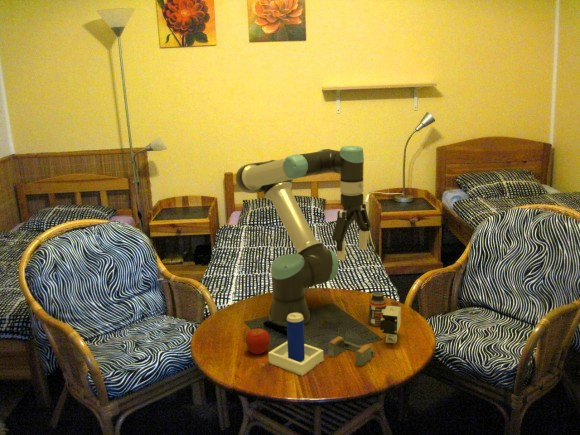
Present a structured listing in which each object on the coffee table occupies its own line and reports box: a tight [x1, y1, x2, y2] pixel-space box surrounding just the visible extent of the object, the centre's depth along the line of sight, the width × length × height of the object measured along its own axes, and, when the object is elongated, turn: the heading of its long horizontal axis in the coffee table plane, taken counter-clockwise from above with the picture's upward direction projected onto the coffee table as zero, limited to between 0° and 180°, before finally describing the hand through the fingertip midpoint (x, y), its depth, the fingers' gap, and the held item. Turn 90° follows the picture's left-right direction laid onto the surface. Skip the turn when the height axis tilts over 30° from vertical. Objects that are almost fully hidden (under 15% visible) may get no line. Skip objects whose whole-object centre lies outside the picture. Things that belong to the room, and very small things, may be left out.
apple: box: [245, 328, 271, 355], centre depth 176 cm, size 8×8×8 cm
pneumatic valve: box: [379, 304, 402, 344], centre depth 180 cm, size 6×12×12 cm, turn 161°
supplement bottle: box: [368, 291, 387, 327], centre depth 193 cm, size 6×6×11 cm
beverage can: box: [286, 313, 305, 363], centre depth 168 cm, size 5×5×15 cm
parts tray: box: [267, 340, 324, 377], centre depth 170 cm, size 13×11×4 cm
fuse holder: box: [328, 335, 376, 368], centre depth 172 cm, size 12×8×5 cm, turn 51°
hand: (352, 254), depth 186 cm, fingers open, 13 cm apart
